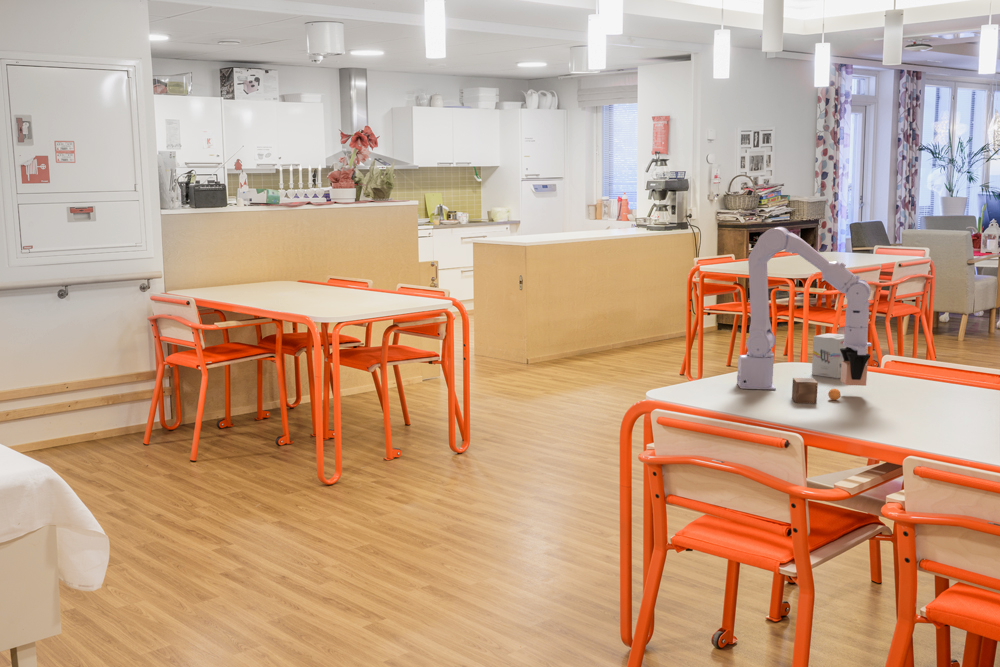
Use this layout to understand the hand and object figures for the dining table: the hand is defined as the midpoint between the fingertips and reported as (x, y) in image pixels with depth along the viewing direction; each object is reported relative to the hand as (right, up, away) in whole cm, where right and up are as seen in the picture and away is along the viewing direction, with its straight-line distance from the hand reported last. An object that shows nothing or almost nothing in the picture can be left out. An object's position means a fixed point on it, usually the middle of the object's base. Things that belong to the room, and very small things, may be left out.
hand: (853, 377), depth 249 cm
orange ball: (-7, -6, -4) cm, 10 cm away
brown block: (-15, -6, -6) cm, 17 cm away
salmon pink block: (0, -2, 0) cm, 2 cm away
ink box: (+4, -1, +28) cm, 28 cm away
